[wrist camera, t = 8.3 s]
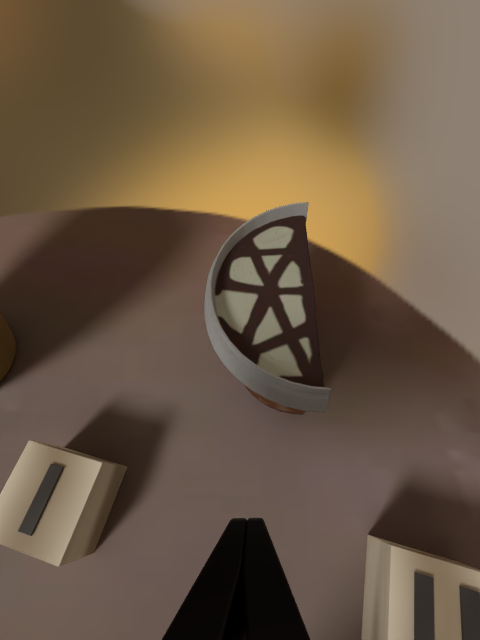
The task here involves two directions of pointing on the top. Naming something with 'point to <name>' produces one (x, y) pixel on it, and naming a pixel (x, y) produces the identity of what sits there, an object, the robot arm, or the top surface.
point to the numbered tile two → (418, 595)
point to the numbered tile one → (57, 502)
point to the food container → (268, 311)
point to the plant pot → (6, 347)
